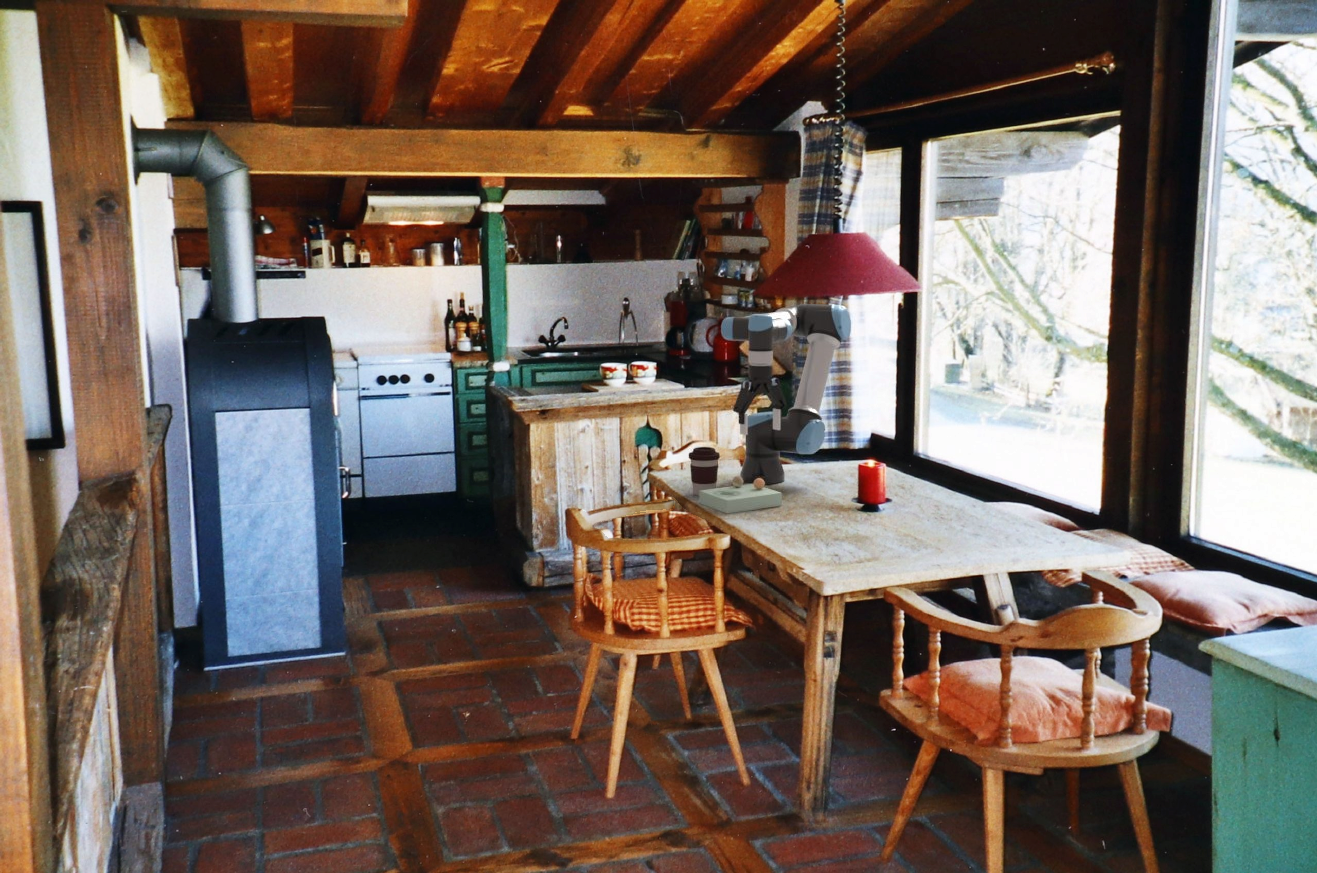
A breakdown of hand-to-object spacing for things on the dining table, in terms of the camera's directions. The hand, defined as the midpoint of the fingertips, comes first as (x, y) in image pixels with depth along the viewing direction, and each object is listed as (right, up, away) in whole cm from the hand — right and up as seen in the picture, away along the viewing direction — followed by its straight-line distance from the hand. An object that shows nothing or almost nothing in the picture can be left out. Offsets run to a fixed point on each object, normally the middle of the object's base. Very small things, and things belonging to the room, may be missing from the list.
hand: (760, 432), depth 358 cm
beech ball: (-7, -16, +3) cm, 17 cm away
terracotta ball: (0, -16, 0) cm, 16 cm away
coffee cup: (-17, -20, +12) cm, 29 cm away
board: (-6, -22, -3) cm, 24 cm away
